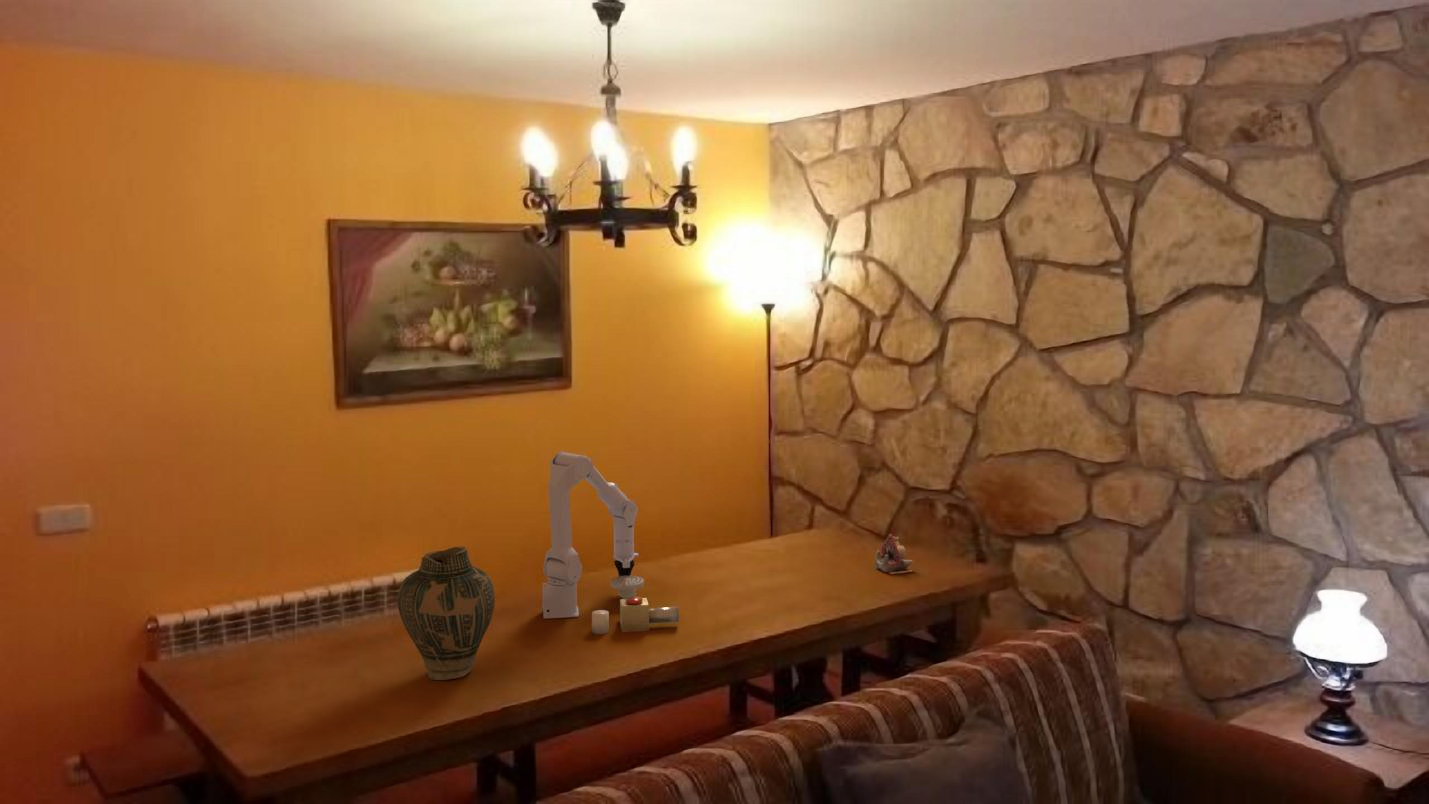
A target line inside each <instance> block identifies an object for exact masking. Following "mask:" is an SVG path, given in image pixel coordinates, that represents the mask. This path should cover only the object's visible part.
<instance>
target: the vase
mask: <svg viewBox="0 0 1429 804" xmlns="http://www.w3.org/2000/svg"><path fill="white" fill-rule="evenodd" d="M494 589H495V588H494V585H493V582H492V579H491V577H490V576H489V574H488V573H486V572H485V571H484V570H483V569H481V568H478V567H476V566H474V565H473V564H472V561H471V558H470V555H469V552H468V549H467V548H466V547H465V546H454V547H449V548H447V549H444V550H435V551H431V552H427V553H426V554H424V555H423V556H422V557H421V562H420V567H419V568H418V570H415V571H413V572H411V573H410V574H408V576H406V577H405V578H404V579H403V581H402V582H401V584H400V587H399V590H398V593H397V594H398V595H397V609H398V612H399V615H400V618H401V621H402V624H403V626H404V627H405V630H406V632H407V634H408V636H409V637H410V640H412V642H413V644H414V645H415V647H416V648H417V650H418V652H419V654H420V655H421V658H422V660H423V663H424V667H425V668H426V670H427V674H428V678H429V680H433V681H446V680H453V679H458V678H463V677H465V676H466V675H467V674H468V673H470V672H471V671H473V670H474V669H473V668H474V664H475V663H476V656H477V653H478V651H479V648H480V645H481V644H482V642H483V638H484V636H485V634H486V632H487V630H488V628H489V626H490V623H491V621H492V619H493V615H494V612H495V604H496V594H495V590H494Z"/></svg>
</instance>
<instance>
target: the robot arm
mask: <svg viewBox="0 0 1429 804" xmlns="http://www.w3.org/2000/svg"><path fill="white" fill-rule="evenodd" d="M549 471H550V475H549V480H548V486H547V487H548V488H547V489H548V504H549V523H550V537H551V548H550V549H548V551H546V552H545V553H544V556H545V558H544V562H543V568H542V570H543V574H544V576H545V577H546V578H547V581H548V582H543V583H542V603H541V610H542V614H543V619H560V618H561V619H564V618H578V617H580V613H579V612H580V611H579V607H578V602H577V601H578V599H577V598H578V596H577V595H578V594H577V592H578V591H577V584H578V583H579V581H580V579H581V578H582V574H583V566H582V565H583V564H582V563H581V562H580V556H579V555H580V554H579V553H578V552H577V551H576V550H575V549H574V547H573V537H572V536H573V535H572V518H571V516H572V515H571V502H570V500H571V497H570V490H571V489H572V488H573V487H576V486H577V485H578V484H579V483H581V482H582V480H585V481H587V482H588V483H589V484H590V485H591V486H592V488H594V489H595V490H596V491H597V497H598V499H599V500H600V501H602V503H604V504H605V505H606V507H607V508H608V513H609V514H610V515H611V516H612V517H613V555H612V556H613V558H614V559H615V560H614V561H613V563H614V566H615V568H616V570H617V574H618V577H620V576H625V575H626V576H629V575H630V576H632V575H631V574H632V571H633V569H634V567H635V560H634V558H638V557H639V553H638V552H635V538H634V537H635V533H634V532H635V529H634V528H635V527H634V526H635V525H636V524H635V523H636V517H637V515H638V511H639V507H638V505H637V504H636V502H635V501H634V500H633V499H628V497H627V494H626V493H625V492H623V491H621V490H620V488H619V487H618V486H619V485H618V484H617V483H615V482H612V481H611V482H609V481H607V480H606V479H605V478H604V477H603V475H602V474H601V473H600V472H599V471H598V469H597V468H596V467H595V465H594V461H593V460H591V459H590V457H589V456H587V455H584V454H576V453H569V452H566V451H559V452H557V453H556V454H555V455H554V456H553V457H552V459H551V460H550V461H549Z"/></svg>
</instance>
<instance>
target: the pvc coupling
mask: <svg viewBox="0 0 1429 804" xmlns="http://www.w3.org/2000/svg"><path fill="white" fill-rule="evenodd" d="M609 617H610V612H609V611H608V610H605V609H598V610H597V609H596V610H593V611H592V612H591V632H592V634H597V635H605V634H608V633H609V632H610V619H609Z"/></svg>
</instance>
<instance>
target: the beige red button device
mask: <svg viewBox="0 0 1429 804" xmlns="http://www.w3.org/2000/svg"><path fill="white" fill-rule="evenodd" d="M679 610H680V609H679V607H678V606H669V607H668V606H667V607H665V606H664V607H650V606H649V601H648V598H647V597H641V596H634V597H628V598H626V599H624V598H621V599H619V616H620V617H619V619H620V620H619V621H620V624H619V625H620V629H621V632H622V633H632V632H633V633H635V632H649V631H650V624H651V625H652V624H653V625H654V624H665V623H666V624H667V623H668V624H669V623H679V622H680V613H679V612H680V611H679Z"/></svg>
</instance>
